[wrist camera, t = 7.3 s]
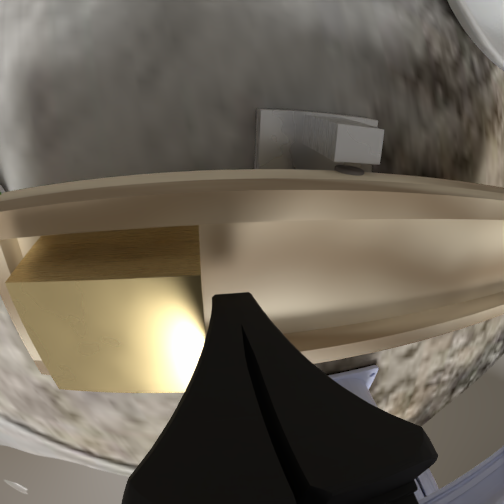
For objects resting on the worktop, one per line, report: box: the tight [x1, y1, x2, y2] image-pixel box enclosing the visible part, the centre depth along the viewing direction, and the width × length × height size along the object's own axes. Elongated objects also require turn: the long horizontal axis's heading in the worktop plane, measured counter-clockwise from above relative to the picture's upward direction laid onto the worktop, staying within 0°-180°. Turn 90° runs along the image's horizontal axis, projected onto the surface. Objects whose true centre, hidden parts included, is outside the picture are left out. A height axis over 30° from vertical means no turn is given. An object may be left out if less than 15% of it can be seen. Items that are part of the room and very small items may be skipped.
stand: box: [254, 108, 384, 172], centre depth 15 cm, size 12×6×5 cm, turn 178°
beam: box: [0, 165, 504, 375], centre depth 13 cm, size 8×28×3 cm, turn 88°
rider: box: [5, 225, 206, 393], centre depth 10 cm, size 5×6×3 cm
